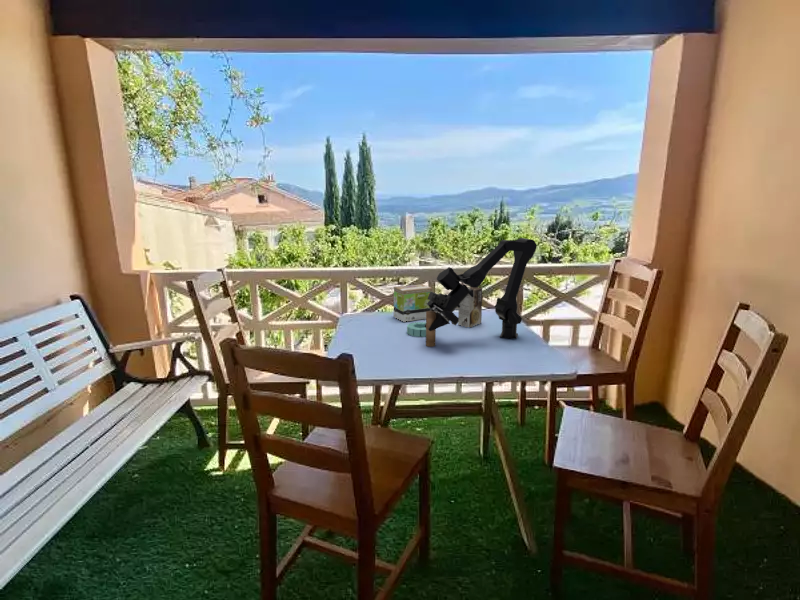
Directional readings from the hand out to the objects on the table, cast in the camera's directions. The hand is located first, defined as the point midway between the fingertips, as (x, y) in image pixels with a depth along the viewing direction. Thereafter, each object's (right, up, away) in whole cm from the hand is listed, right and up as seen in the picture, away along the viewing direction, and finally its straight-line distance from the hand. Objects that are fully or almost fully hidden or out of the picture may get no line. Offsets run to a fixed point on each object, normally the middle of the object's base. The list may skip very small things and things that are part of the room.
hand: (427, 328), depth 171 cm
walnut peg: (+1, -6, +2) cm, 7 cm away
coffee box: (+20, 0, +29) cm, 35 cm away
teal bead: (-2, -3, +17) cm, 18 cm away
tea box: (-4, +2, +40) cm, 40 cm away
